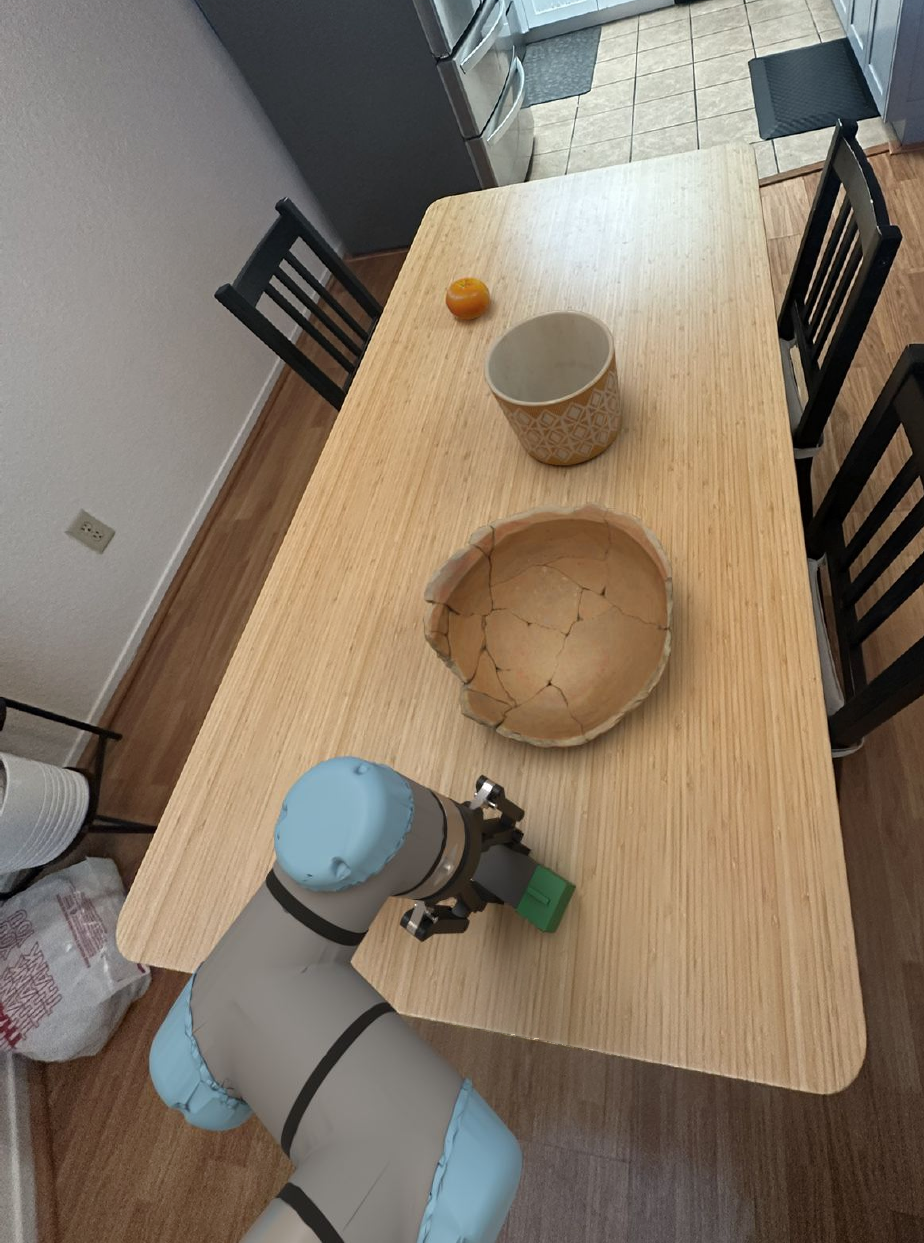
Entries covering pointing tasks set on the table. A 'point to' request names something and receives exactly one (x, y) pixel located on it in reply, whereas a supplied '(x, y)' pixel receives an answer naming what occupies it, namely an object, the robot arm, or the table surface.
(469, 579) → the ceramic bowl
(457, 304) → the fruit
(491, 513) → the table surface
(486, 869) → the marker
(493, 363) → the planter
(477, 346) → the table surface
